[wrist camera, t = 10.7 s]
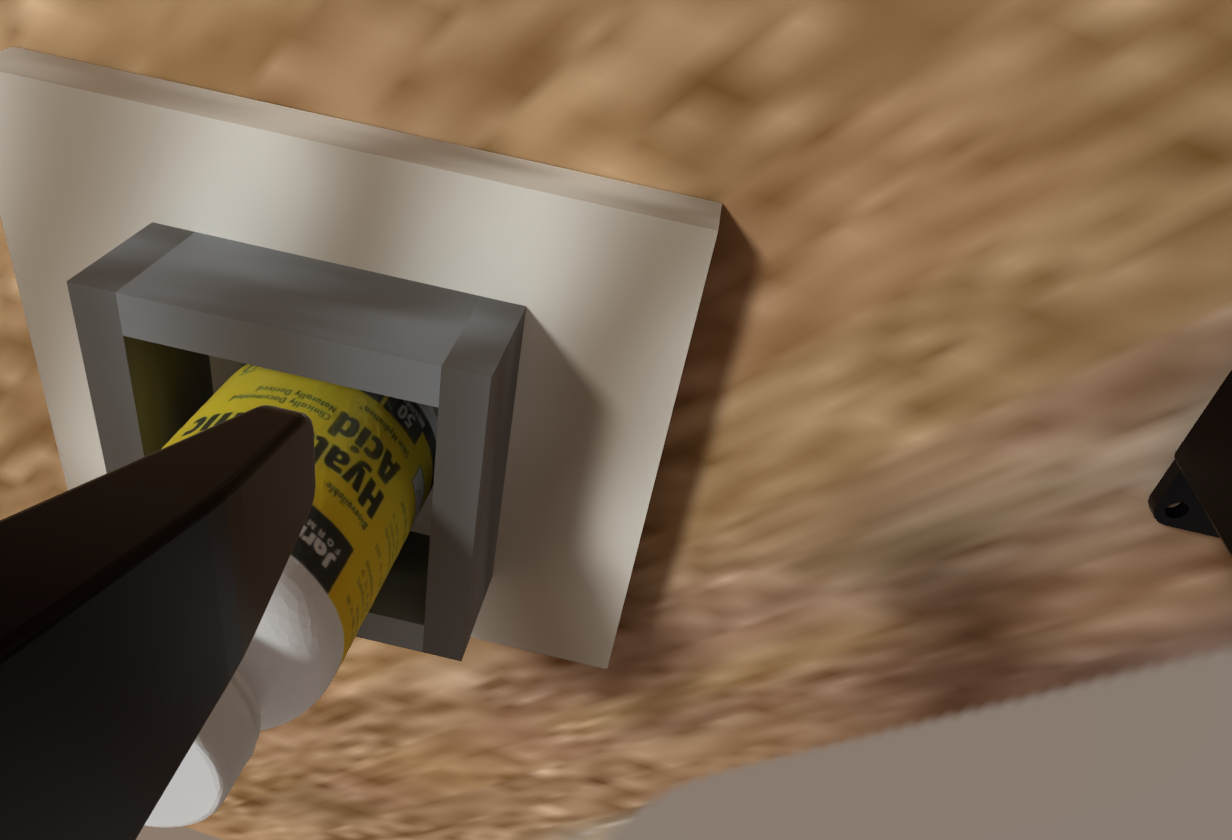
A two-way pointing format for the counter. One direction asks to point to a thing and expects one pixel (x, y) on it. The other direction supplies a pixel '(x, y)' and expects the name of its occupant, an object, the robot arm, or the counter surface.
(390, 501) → the supplement bottle
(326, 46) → the counter surface
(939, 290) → the counter surface
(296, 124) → the holder board
